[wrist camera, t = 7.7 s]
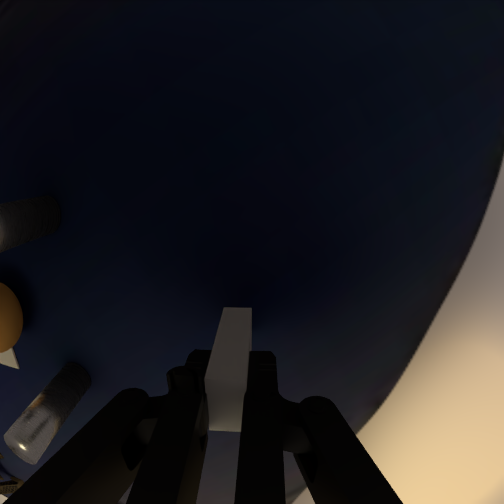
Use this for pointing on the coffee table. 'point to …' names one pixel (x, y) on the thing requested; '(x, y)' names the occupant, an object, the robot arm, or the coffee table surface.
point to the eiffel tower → (10, 484)
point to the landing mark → (9, 358)
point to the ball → (9, 318)
